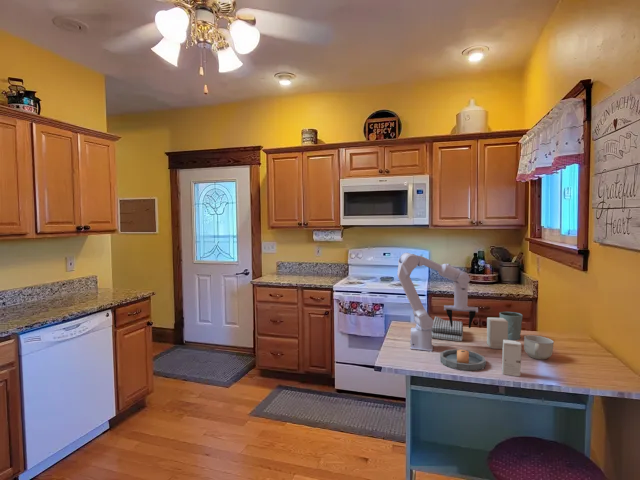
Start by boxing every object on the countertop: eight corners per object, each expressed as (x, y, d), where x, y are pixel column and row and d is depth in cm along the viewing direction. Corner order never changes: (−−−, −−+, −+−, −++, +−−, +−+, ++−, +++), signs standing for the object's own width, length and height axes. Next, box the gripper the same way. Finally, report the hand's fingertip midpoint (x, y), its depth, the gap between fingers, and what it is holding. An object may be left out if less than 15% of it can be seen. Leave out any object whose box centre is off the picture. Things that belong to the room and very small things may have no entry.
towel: (430, 339, 182) (430, 323, 181) (432, 329, 199) (432, 315, 198) (463, 343, 176) (463, 326, 176) (463, 332, 194) (463, 317, 193)
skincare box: (502, 374, 139) (503, 342, 138) (501, 370, 143) (502, 339, 142) (521, 376, 136) (521, 344, 136) (519, 372, 141) (520, 340, 140)
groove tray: (440, 367, 145) (440, 361, 145) (440, 353, 162) (440, 347, 161) (487, 373, 140) (487, 366, 140) (483, 357, 156) (483, 351, 156)
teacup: (528, 350, 164) (528, 332, 164) (556, 356, 156) (556, 338, 156) (517, 359, 154) (517, 340, 154) (547, 366, 147) (547, 346, 146)
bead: (456, 365, 145) (456, 352, 145) (456, 361, 149) (457, 348, 149) (468, 366, 144) (469, 353, 143) (468, 362, 148) (468, 350, 148)
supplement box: (508, 349, 166) (508, 321, 165) (490, 348, 167) (490, 320, 167) (503, 344, 173) (503, 317, 173) (486, 343, 175) (486, 316, 174)
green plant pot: (497, 338, 182) (497, 314, 181) (501, 333, 190) (501, 310, 189) (520, 342, 176) (521, 317, 175) (523, 336, 184) (523, 312, 184)
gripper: (444, 298, 167) (443, 327, 168) (478, 299, 163) (478, 330, 163) (444, 295, 174) (443, 323, 175) (477, 296, 169) (477, 326, 170)
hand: (460, 326), depth 169 cm, fingers open, 7 cm apart
